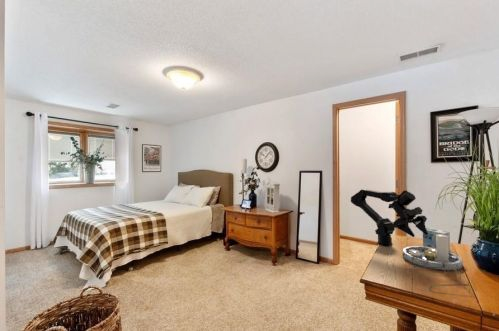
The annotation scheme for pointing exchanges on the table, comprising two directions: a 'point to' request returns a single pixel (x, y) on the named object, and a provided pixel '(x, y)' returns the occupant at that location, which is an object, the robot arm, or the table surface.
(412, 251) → the carrier plate
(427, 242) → the light bulb box
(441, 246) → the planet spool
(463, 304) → the table surface
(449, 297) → the table surface
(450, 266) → the eyeglasses
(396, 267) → the table surface
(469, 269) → the table surface
